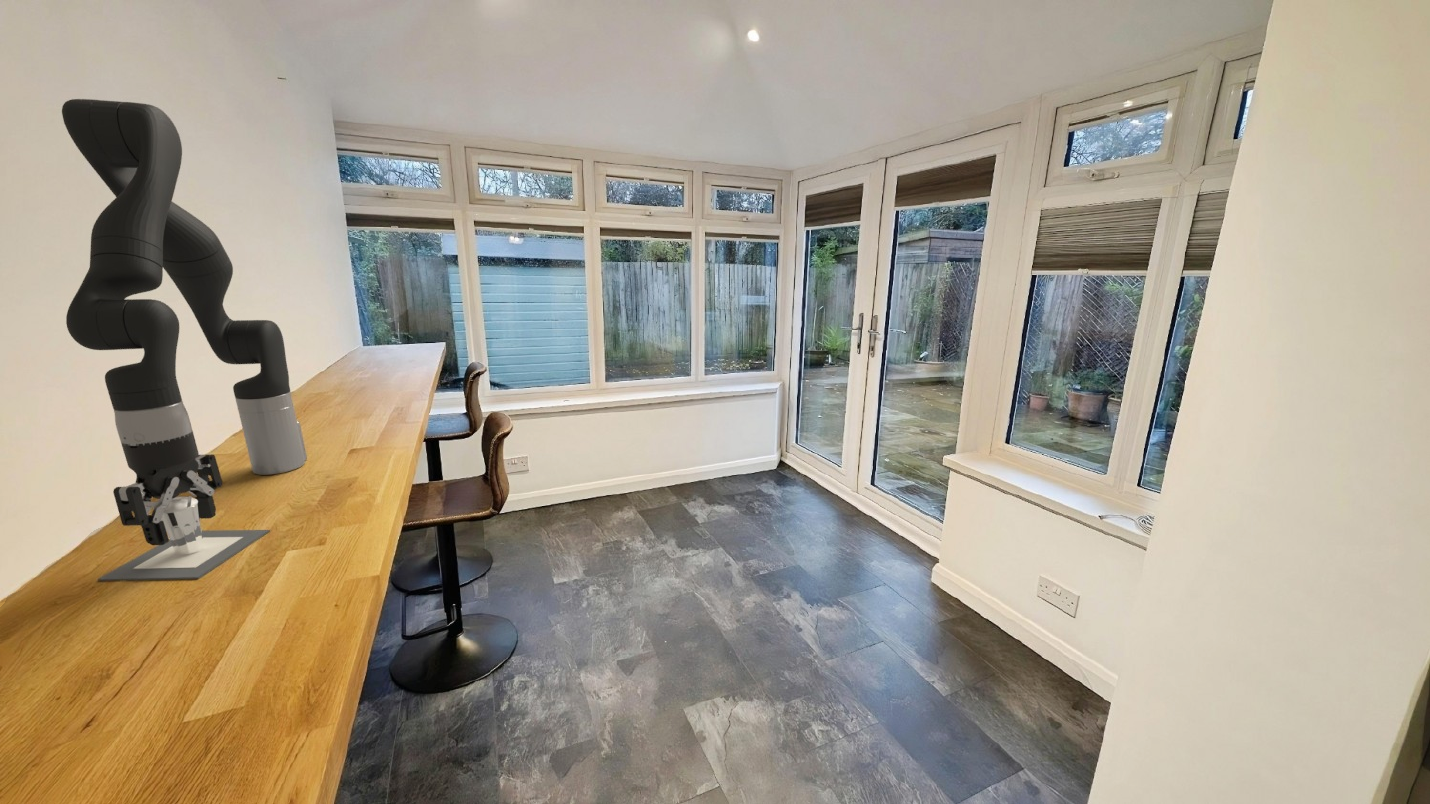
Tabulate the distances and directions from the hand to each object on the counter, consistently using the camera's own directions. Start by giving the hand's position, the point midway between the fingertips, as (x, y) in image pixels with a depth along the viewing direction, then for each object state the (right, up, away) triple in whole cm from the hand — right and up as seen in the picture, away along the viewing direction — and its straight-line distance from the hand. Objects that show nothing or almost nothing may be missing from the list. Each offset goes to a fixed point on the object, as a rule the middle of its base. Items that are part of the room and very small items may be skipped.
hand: (184, 530), depth 82 cm
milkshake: (0, -4, +1) cm, 4 cm away
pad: (0, -4, +1) cm, 4 cm away
